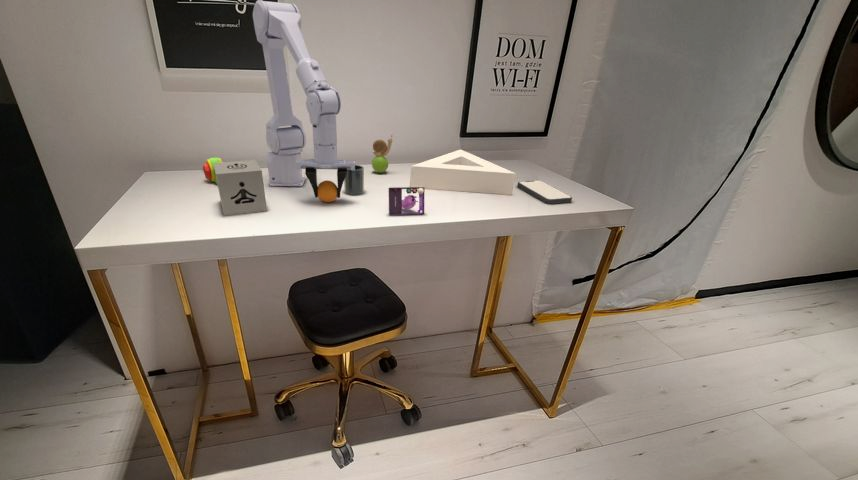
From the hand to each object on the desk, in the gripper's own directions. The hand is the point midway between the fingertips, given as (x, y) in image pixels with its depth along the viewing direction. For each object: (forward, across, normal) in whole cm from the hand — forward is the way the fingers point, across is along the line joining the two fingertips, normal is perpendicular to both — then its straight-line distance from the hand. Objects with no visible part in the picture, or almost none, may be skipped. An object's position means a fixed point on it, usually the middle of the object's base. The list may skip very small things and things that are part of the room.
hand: (327, 196), depth 103 cm
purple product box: (+2, +20, -7) cm, 21 cm away
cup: (+1, +7, +8) cm, 11 cm away
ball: (+1, 0, 0) cm, 1 cm away
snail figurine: (+2, +16, +28) cm, 32 cm away
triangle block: (+2, +36, +17) cm, 40 cm away
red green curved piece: (+2, -35, +20) cm, 40 cm away
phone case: (+2, +63, +8) cm, 64 cm away
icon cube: (+2, -21, -4) cm, 21 cm away
